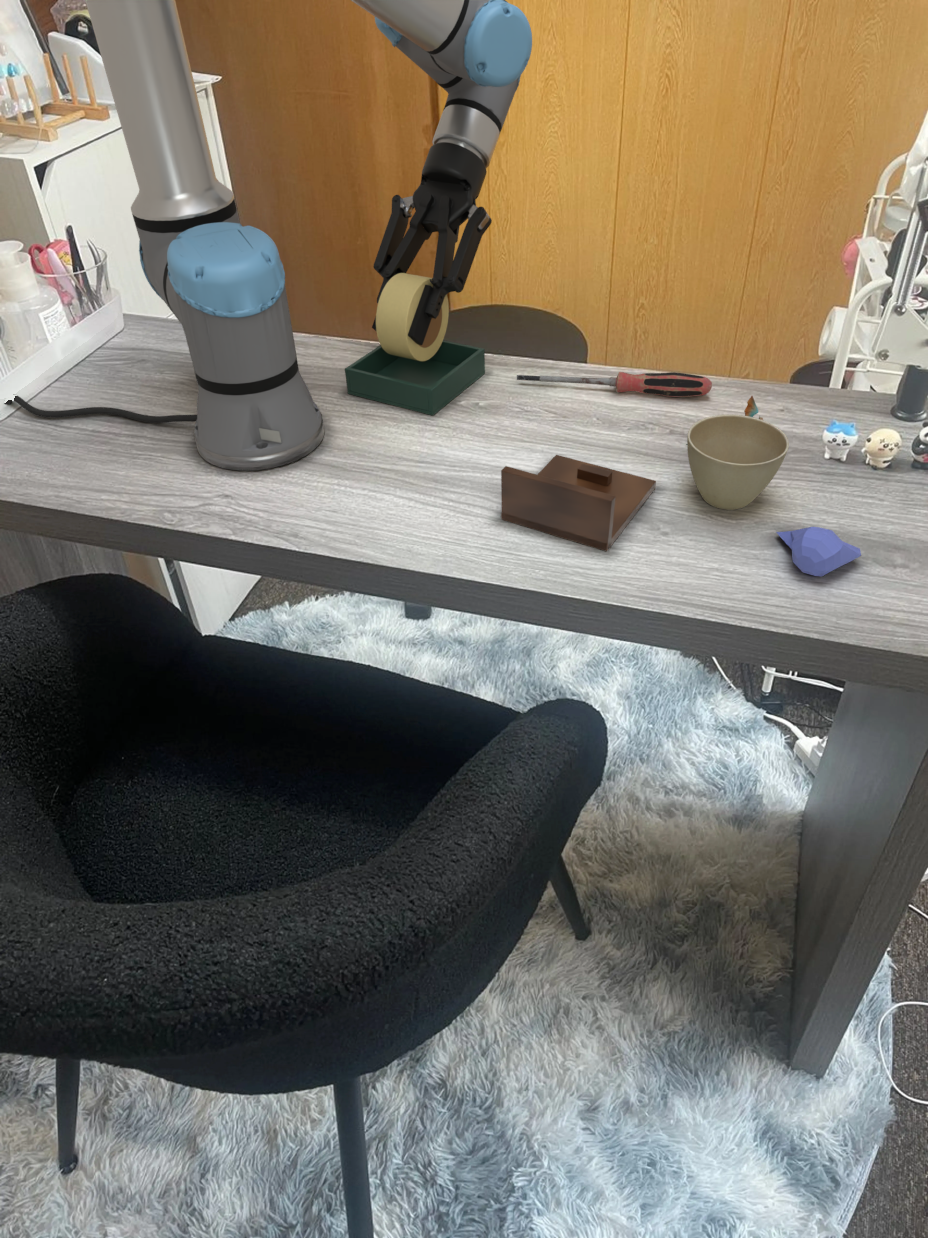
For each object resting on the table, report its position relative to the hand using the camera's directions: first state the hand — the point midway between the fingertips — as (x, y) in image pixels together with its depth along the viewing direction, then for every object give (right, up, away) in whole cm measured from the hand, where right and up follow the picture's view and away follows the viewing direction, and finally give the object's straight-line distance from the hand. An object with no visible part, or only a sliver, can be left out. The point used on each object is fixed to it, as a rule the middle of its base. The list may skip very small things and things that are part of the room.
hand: (397, 335), depth 110 cm
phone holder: (+21, -23, -15) cm, 34 cm away
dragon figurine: (+39, -15, -7) cm, 43 cm away
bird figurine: (+42, -30, -24) cm, 57 cm away
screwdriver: (+27, -6, +2) cm, 28 cm away
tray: (+2, -4, +8) cm, 9 cm away
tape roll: (+2, -1, +5) cm, 6 cm away
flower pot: (+36, -22, -15) cm, 45 cm away
